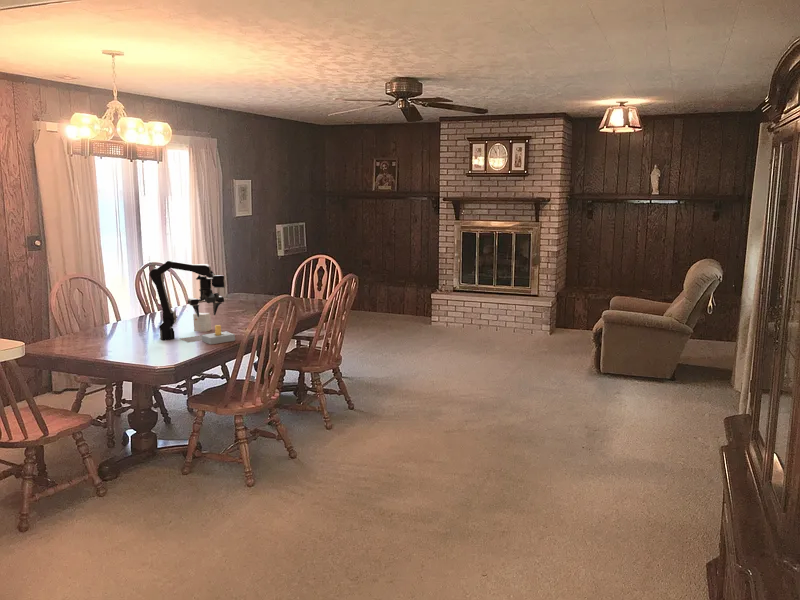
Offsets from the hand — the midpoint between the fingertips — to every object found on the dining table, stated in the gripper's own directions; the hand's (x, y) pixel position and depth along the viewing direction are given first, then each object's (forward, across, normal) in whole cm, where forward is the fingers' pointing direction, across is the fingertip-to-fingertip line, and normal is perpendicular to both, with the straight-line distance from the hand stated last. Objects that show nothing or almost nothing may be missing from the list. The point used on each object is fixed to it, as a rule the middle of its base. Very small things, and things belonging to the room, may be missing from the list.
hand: (206, 315), depth 361 cm
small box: (+13, +6, +20) cm, 24 cm away
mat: (+13, -6, +1) cm, 14 cm away
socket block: (+12, +2, -11) cm, 17 cm away
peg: (+12, +2, -11) cm, 17 cm away
